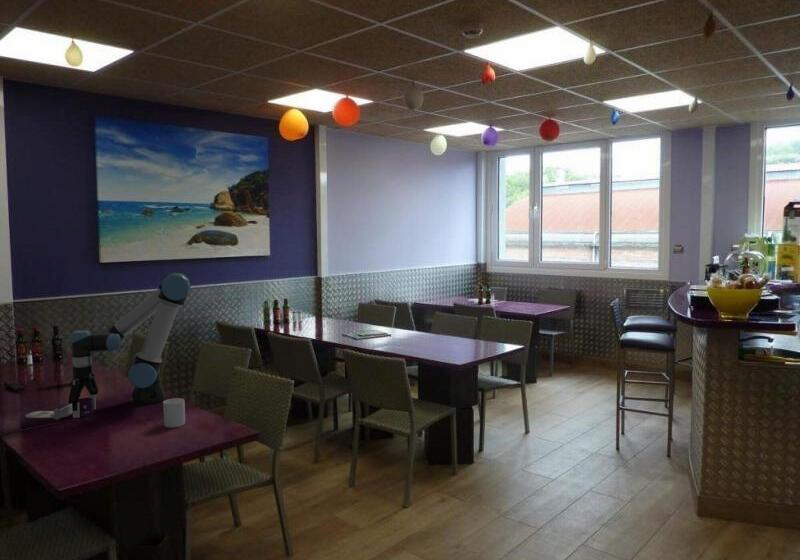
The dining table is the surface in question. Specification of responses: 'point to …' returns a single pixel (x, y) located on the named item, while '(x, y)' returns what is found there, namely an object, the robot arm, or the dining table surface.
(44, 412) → the pad
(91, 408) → the cup
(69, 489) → the dining table surface
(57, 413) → the divider wall
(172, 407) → the cup
